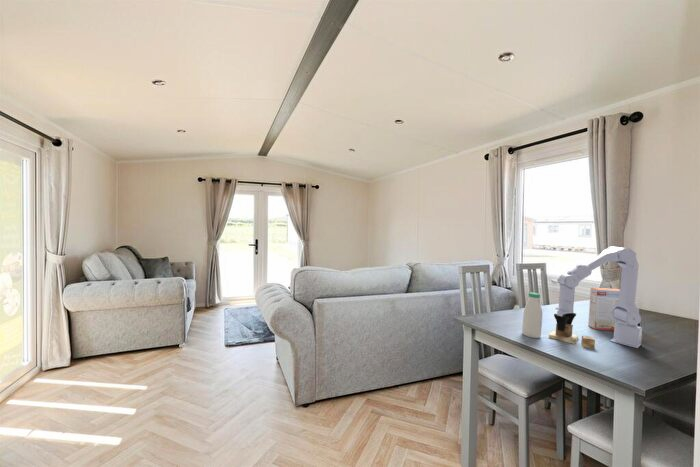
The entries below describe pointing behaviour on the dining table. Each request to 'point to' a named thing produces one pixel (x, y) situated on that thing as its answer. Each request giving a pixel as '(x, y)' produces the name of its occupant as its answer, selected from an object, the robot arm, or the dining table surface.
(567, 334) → the walnut cube
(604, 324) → the cracker box
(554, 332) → the base board
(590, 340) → the oak cube
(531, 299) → the milk bottle
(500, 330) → the dining table surface
